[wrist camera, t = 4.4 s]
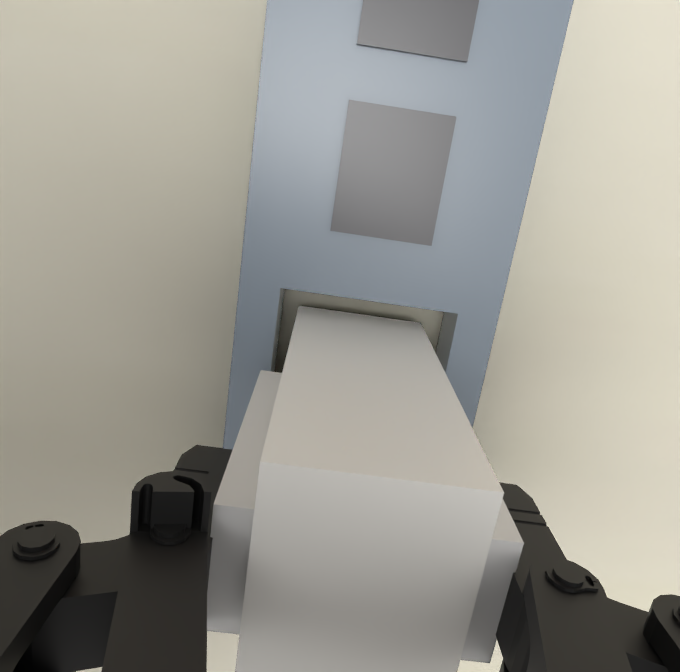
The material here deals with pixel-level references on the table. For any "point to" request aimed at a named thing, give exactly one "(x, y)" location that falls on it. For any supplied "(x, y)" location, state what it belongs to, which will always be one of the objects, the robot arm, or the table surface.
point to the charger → (365, 507)
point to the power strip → (393, 167)
